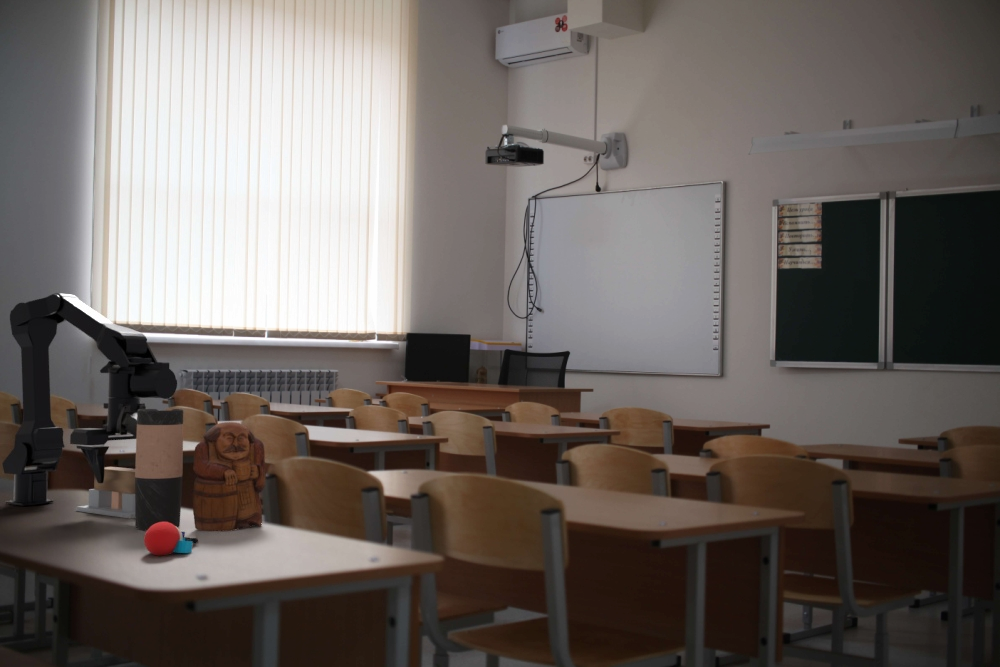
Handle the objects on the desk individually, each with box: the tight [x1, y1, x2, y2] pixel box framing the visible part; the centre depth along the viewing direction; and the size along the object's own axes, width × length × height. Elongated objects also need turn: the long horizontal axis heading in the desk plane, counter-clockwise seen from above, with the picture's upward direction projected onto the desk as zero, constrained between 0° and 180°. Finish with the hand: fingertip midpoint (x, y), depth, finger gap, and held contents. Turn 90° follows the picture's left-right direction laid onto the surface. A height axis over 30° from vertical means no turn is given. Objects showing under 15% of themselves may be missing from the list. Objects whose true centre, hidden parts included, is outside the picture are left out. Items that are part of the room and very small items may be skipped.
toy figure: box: [143, 522, 199, 557], centre depth 147 cm, size 8×5×15 cm
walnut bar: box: [93, 466, 135, 494], centre depth 185 cm, size 12×4×4 cm, turn 57°
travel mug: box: [134, 408, 184, 531], centre depth 168 cm, size 8×8×20 cm
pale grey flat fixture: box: [75, 488, 135, 519], centre depth 186 cm, size 16×9×4 cm, turn 57°
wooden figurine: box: [192, 421, 266, 532], centre depth 169 cm, size 12×6×18 cm, turn 135°
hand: (122, 481), depth 185 cm, fingers open, 9 cm apart
